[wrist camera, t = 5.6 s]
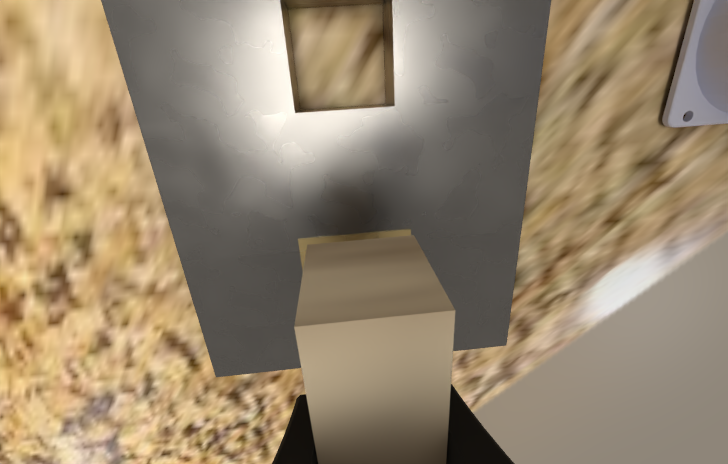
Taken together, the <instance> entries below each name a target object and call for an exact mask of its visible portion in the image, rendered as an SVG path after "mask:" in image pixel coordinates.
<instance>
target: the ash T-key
mask: <svg viewBox="0 0 728 464" xmlns="http://www.w3.org/2000/svg"><path fill="white" fill-rule="evenodd" d="M454 324H455V309H454V307H453V305H452V303H451V302H450V300H449V298H448V296H447V294H446V292H445V291H444V289H443V287H442V285H441V283H440V282H439V280H438V278H437V276H436V274H435V272H434V271H433V269H432V267H431V265H430V263H429V262H428V260H427V258H426V256H425V254H424V252H423V251H422V249H421V247H420V245H419V243H418V242H417V240H416V238H415V236H414V235H410V236H398V237H387V238H376V239H365V240H354V241H343V242H332V243H321V244H310V245H307V249H306V255H305V261H304V268H303V274H302V281H301V287H300V293H299V300H298V306H297V312H296V319H295V325H294V329H295V334H296V340H297V346H298V351H299V357H300V363H301V368H302V374H303V380H304V385H305V391H306V397H307V403H308V408H309V414H310V420H311V425H312V431H313V437H314V442H315V448H316V454H317V459H318V464H446V458H447V441H448V425H449V408H450V391H451V374H452V358H453V341H454Z"/></svg>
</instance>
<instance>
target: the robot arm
mask: <svg viewBox="0 0 728 464" xmlns="http://www.w3.org/2000/svg"><path fill="white" fill-rule="evenodd" d="M685 113H686V116H685V117H684V119H683V116H684V114H685ZM662 121H663V124H664V125H665V126H667V127H688V126H701V125H714V124H727V123H728V0H694V3H693V6H692V10H691V14H690V18H689V21H688V25H687V29H686V33H685V36H684V40H683V44H682V47H681V51H680V55H679V59H678V62H677V66H676V70H675V74H674V77H673V81H672V85H671V88H670V92H669V96H668V100H667V103H666V107H665V111H664V115H663V120H662ZM272 464H318V459H317V454H316V448H315V442H314V437H313V431H312V425H311V420H310V414H309V408H308V403H307V397H306V394H305V395H300V396H299V397H298V398H297V399H296V403H295V406H294V409H293V412H292V415H291V418H290V421H289V424H288V427H287V429H286V432H285V434H284V437H283V439H282V442H281V444H280V447H279V449H278V451H277V454H276V456H275V458H274V461H273V463H272ZM446 464H514V463H513V462H512V461H511V459H510V458H509V457H508V456H507V455H506V454H505V452H504V451H503V450H502V449H501V448H500V447H499V445H498V444H497V443H496V442H495V440H494V439H493V438H492V437H491V436H490V434H489V433H488V432H487V431H486V430H485V429H484V427H483V426H482V425H481V423H480V422H479V421H478V419H477V418H476V417H475V416H474V414H473V413H472V412H471V410H470V409H469V408H468V406H467V405H466V404H465V402H464V401H463V400H462V398H461V397H460V395H459V394H458V393H457V391H456V390H455V388H454V387H453V385H452V384H451V391H450V408H449V425H448V441H447V458H446Z"/></svg>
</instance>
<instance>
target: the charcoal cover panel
mask: <svg viewBox="0 0 728 464" xmlns="http://www.w3.org/2000/svg"><path fill="white" fill-rule="evenodd" d="M101 1H102V5H103V8H104V11H105V15H106V18H107V21H108V24H109V28H110V31H111V34H112V37H113V41H114V44H115V47H116V51H117V54H118V57H119V60H120V64H121V67H122V70H123V74H124V77H125V80H126V83H127V87H128V90H129V93H130V97H131V100H132V103H133V106H134V110H135V113H136V116H137V119H138V123H139V126H140V129H141V133H142V136H143V139H144V142H145V146H146V149H147V152H148V156H149V159H150V162H151V165H152V169H153V172H154V175H155V179H156V182H157V185H158V188H159V192H160V195H161V198H162V201H163V205H164V208H165V211H166V215H167V218H168V221H169V224H170V228H171V231H172V234H173V238H174V241H175V244H176V247H177V251H178V254H179V257H180V261H181V264H182V267H183V270H184V274H185V277H186V280H187V283H188V287H189V290H190V293H191V297H192V300H193V303H194V306H195V310H196V313H197V316H198V320H199V323H200V326H201V329H202V333H203V336H204V339H205V343H206V346H207V349H208V352H209V356H210V359H211V362H212V365H213V369H214V372H215V375H216V377H223V376H232V375H241V374H250V373H259V372H268V371H277V370H286V369H295V368H301V363H300V357H299V351H298V346H297V340H296V334H295V329H294V325H295V319H296V312H297V306H298V300H299V293H300V287H301V281H302V274H303V268H304V261H305V255H306V249H307V245H310V244H321V243H332V242H343V241H354V240H365V239H376V238H387V237H398V236H410V235H414V236H415V238H416V240H417V242H418V243H419V245H420V247H421V249H422V251H423V252H424V254H425V256H426V258H427V260H428V262H429V263H430V265H431V267H432V269H433V271H434V272H435V274H436V276H437V278H438V280H439V282H440V283H441V285H442V287H443V289H444V291H445V292H446V294H447V296H448V298H449V300H450V302H451V303H452V305H453V307H454V309H455V324H454V341H453V351H459V350H468V349H477V348H486V347H495V346H504V345H506V343H507V336H508V328H509V320H510V313H511V305H512V297H513V290H514V282H515V274H516V267H517V259H518V251H519V243H520V236H521V228H522V220H523V213H524V205H525V197H526V190H527V182H528V174H529V167H530V159H531V151H532V143H533V136H534V128H535V120H536V113H537V105H538V97H539V90H540V82H541V74H542V67H543V59H544V51H545V43H546V36H547V28H548V20H549V13H550V5H551V0H101ZM369 4H383V34H384V64H385V95H386V104H381V105H366V106H351V107H337V108H322V109H307V110H300V102H299V94H298V86H297V78H296V70H295V63H294V55H293V47H292V39H291V31H290V23H289V15H288V9H292V8H311V7H331V6H350V5H369Z"/></svg>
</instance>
